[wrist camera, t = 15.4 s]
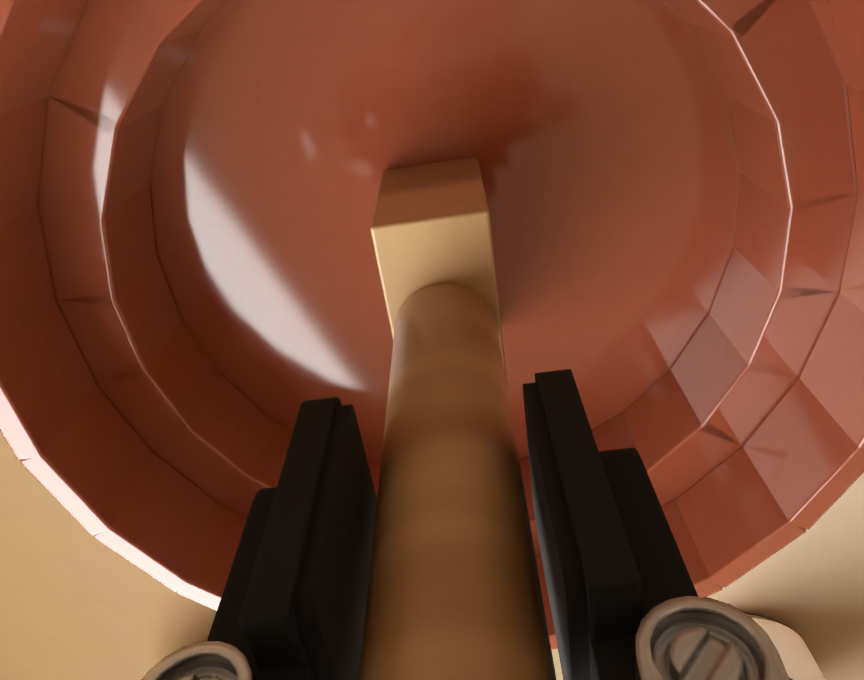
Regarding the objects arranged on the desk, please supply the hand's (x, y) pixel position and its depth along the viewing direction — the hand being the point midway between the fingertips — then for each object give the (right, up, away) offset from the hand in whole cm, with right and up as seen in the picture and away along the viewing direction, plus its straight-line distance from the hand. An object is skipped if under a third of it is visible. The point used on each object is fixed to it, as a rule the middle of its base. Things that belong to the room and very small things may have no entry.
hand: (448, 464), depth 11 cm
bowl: (0, +5, +8) cm, 9 cm away
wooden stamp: (0, +4, +7) cm, 8 cm away
